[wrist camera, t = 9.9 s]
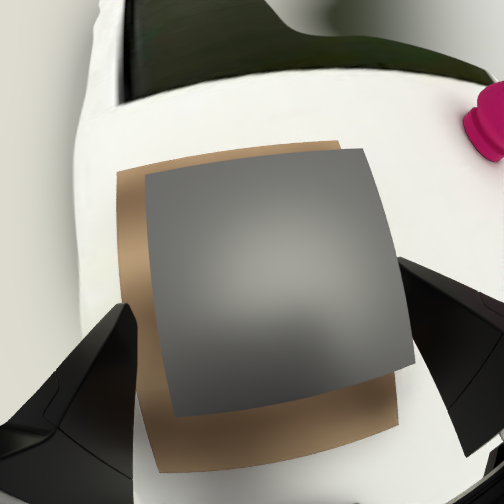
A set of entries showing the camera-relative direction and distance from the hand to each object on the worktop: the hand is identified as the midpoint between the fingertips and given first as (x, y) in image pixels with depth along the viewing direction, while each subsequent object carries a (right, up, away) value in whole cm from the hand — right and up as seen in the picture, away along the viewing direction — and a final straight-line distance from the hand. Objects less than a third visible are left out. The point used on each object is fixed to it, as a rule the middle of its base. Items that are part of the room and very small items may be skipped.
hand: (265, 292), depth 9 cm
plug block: (0, -2, +8) cm, 9 cm away
